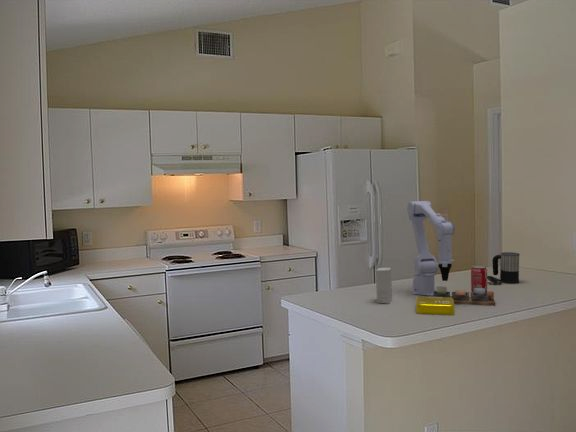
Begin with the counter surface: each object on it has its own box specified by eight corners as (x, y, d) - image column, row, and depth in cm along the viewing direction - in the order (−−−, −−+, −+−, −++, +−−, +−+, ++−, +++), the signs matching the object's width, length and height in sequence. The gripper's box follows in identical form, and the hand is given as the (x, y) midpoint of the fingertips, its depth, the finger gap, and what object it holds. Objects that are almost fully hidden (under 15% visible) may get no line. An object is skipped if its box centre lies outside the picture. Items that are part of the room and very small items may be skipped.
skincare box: (389, 303, 247) (389, 270, 245) (376, 303, 249) (375, 269, 247) (392, 299, 255) (392, 267, 253) (378, 299, 256) (378, 266, 255)
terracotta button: (455, 299, 246) (455, 292, 246) (455, 296, 251) (455, 290, 250) (465, 299, 245) (465, 292, 245) (465, 297, 249) (465, 290, 249)
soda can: (488, 296, 257) (488, 268, 256) (471, 295, 259) (472, 267, 258) (486, 292, 264) (486, 265, 263) (470, 292, 266) (470, 265, 264)
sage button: (436, 295, 249) (436, 288, 248) (436, 292, 253) (436, 286, 252) (446, 295, 247) (446, 288, 247) (446, 293, 252) (446, 286, 251)
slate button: (474, 296, 244) (474, 289, 244) (474, 294, 248) (474, 287, 248) (485, 296, 243) (485, 290, 243) (484, 294, 247) (484, 287, 247)
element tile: (453, 307, 240) (453, 296, 240) (454, 316, 226) (454, 304, 225) (417, 305, 244) (417, 295, 244) (416, 314, 230) (416, 303, 229)
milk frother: (521, 281, 288) (521, 252, 287) (514, 287, 275) (515, 257, 274) (492, 278, 296) (492, 250, 295) (484, 284, 283) (485, 255, 282)
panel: (427, 302, 247) (427, 292, 247) (428, 297, 257) (428, 287, 256) (495, 305, 239) (495, 294, 239) (493, 300, 249) (493, 289, 249)
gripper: (454, 252, 239) (454, 284, 240) (454, 247, 253) (454, 277, 254) (437, 252, 241) (437, 283, 242) (438, 247, 254) (438, 277, 256)
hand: (444, 280), depth 248 cm, fingers closed
